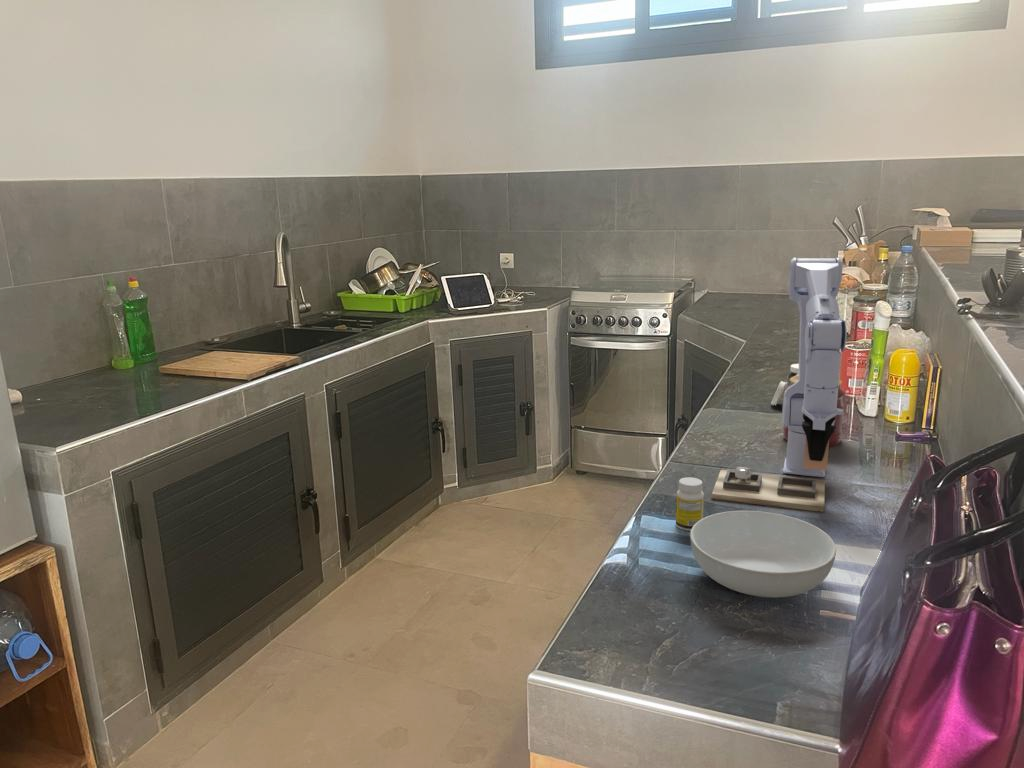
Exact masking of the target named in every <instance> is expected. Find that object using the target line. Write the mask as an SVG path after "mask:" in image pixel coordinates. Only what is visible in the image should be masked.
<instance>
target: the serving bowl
mask: <svg viewBox="0 0 1024 768" xmlns="http://www.w3.org/2000/svg"><path fill="white" fill-rule="evenodd" d="M689 540H690V546H691V551H692V554H693V556H694V559H695V561H696V563H697V565H698V566H699V567H700V568H701V569H702V571H703V572H704V573H705V574H706V575H707V576H708V577H709V578H711V579H712V580H713V581H715V582H717V583H718V584H719V585H721V586H724V587H726V588H728V589H730V590H733V591H736V592H738V593H741V594H745V595H750V596H753V597H754V596H755V597H761V598H787V597H793V596H797V595H801V594H805V593H807V592H809V591H810V590H813V589H815V588H816V587H818V586H819V585H820V584H821V583H822V582H823V581H825V579H826V578H827V577H828V576H829V574H830V573H831V571H832V570H833V569H832V568H833V566H834V564H835V561H836V555H837V546H836V543H835V542H834V540H833V538H832V537H831V536H830V535H829V534H828V533H827V532H825V531H823V529H821V528H819V527H817V526H816V525H814V524H813V523H810V522H807V521H805V520H803V519H800V518H796V517H792V516H790V515H785V514H780V513H776V512H769V511H768V512H767V511H760V510H729V511H723V512H718V513H713V514H711V515H707V516H705V517H703V519H701V520H699V521H698V522H697V523H696V524H695V525H694V526H693V527H692V529H691V531H689Z"/></svg>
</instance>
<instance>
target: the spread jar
mask: <svg viewBox="0 0 1024 768" xmlns="http://www.w3.org/2000/svg"><path fill="white" fill-rule="evenodd" d="M789 371H790V372H789V373H788V375H787V376H786V379H785V381H782V380H781V381H780V382H779V384H778V386H777V389H776V391H775V392H774V395H773V397H772V399H771V402H770V405H772V406H774V405H775V406H774V407H776V406H777V404H778V402H779V400H780V398H781V396H782V394H783V391H785V388H786V387H787V386H789V385H791V382H790V378H791V377H793V376H795V375H797V374H798V372H799V363H792V364H791V365H790V370H789Z"/></svg>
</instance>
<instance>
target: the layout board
mask: <svg viewBox="0 0 1024 768" xmlns="http://www.w3.org/2000/svg"><path fill="white" fill-rule="evenodd" d="M825 485H826V482H825V480H821V479H814V478H803V477H794V476H785V475H784V476H783V475H776V474H775V475H774V474H768V473H767V474H765V473H758V472H756V473H755V472H751V484H745V483H736V482H735V470H730V469H729V470H728V469H720V471H719V473H718V477H717V478H716V481H715V484H714V487H713V490H712V492H711V499H712V500H713V499H714V500H720V501H727V502H728V501H730V502H738V503H745V504H755V505H764V506H771V507H779V508H787V509H795V510H806V511H813V512H819V511H820V512H821V513H825V498H826V497H825V493H826V492H825V487H826V486H825Z"/></svg>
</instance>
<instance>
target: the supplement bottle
mask: <svg viewBox="0 0 1024 768" xmlns="http://www.w3.org/2000/svg"><path fill="white" fill-rule="evenodd" d="M675 503H676V505H675V507H676V508H675V525H676V528H678V529H680V530H683V531H687V532H691V529H692V527H693V526H694V525H695V524H696V523H697V522H698V521H699V520H701V519H703V518H704V516H705V515H704V511H705V510H704V509H705V493H704V492H703V481H702V480H701V479H700V478H698V477H697V478H696V477H691V476H689V477H688V476H686V477H681V478H680V479H679V481H678V490H677V491H676V500H675Z"/></svg>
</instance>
